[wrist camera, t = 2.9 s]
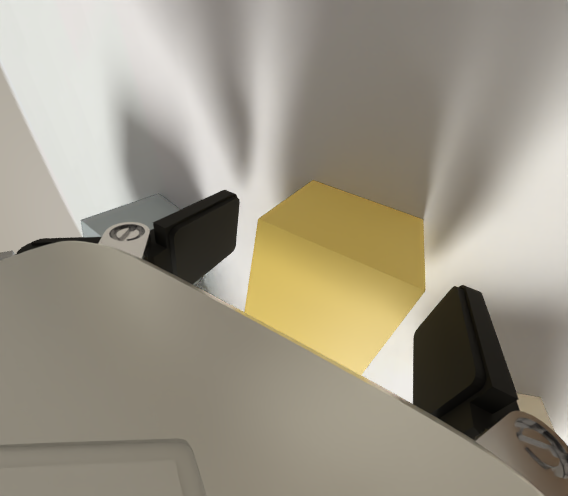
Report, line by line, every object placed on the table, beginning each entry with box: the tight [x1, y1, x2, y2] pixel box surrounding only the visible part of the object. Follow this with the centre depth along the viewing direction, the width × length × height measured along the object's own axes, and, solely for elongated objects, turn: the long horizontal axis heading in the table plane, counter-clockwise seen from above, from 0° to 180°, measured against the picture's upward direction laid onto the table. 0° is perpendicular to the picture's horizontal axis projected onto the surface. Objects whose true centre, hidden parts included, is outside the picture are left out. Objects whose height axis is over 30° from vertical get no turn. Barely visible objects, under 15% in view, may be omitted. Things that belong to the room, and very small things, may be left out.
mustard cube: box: [245, 180, 425, 375], centre depth 10 cm, size 5×5×5 cm
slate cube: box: [81, 194, 202, 285], centre depth 16 cm, size 5×5×5 cm
